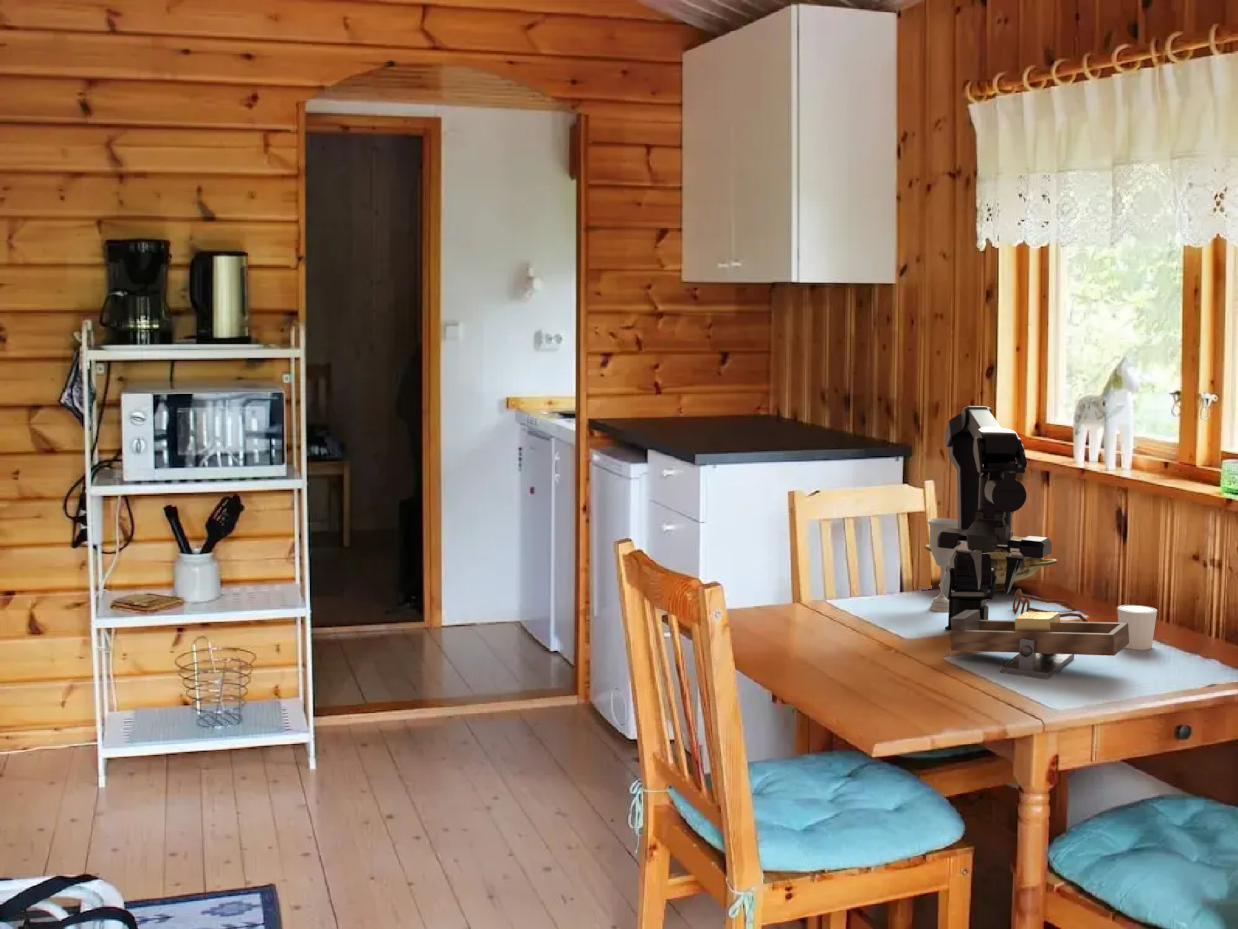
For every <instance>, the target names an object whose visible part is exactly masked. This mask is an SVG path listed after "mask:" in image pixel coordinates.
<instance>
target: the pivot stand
mask: <svg viewBox="0 0 1238 929" xmlns="http://www.w3.org/2000/svg"><path fill="white" fill-rule="evenodd" d="M1074 659H1075V654H1044V653H1036V640H1033V639H1026V638H1022V639H1020V648H1019V653H1017V654H1016V655H1015V656H1013V657H1012V658H1010V659H1009V660H1007V661H1006V662H1004V663H1003V664H1002V665H1000V668H999V670H1000V673H1003V674H1008V675H1009V674H1010V675H1016V676H1018V675H1019V676H1022V675H1024V677H1029V678H1031V677H1032V678H1038V679H1043V680H1049V679H1050V678H1051V677H1052V676H1053V675H1055V674H1056V673H1057V672H1058V671H1060V670H1061V669H1062V668H1064V667H1065V666H1066V665H1067V664H1069V663H1070V662H1072V660H1074Z"/></svg>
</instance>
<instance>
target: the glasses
mask: <svg viewBox="0 0 1238 929" xmlns="http://www.w3.org/2000/svg"><path fill="white" fill-rule="evenodd" d="M1017 598H1018V601H1017ZM1030 600H1032V601H1038V602H1042V603H1045V604H1049V603H1050V604H1051V603H1060V604H1065V605H1066V606H1067V607H1068V608H1070V609H1071V610H1073V611H1074V610H1078V608H1076V607H1075V606H1074V605H1072V603H1070V602H1068V601H1067V600H1065V599H1059V598H1058V599H1047V598H1041V597H1037V596H1032V595H1026V594H1023V592H1022V589H1020V588H1017V589H1016V591H1015V594H1014V597H1013V603H1012V612H1014V613H1017V612H1018V611H1019V609H1020V605H1021V604H1022V605H1021V610H1020V615H1021V614H1023V613H1024V612H1050V611H1048V610H1044V609H1041V608H1040V609H1039V608H1034V607H1030V606H1031V605H1030V603H1031V602H1030ZM1016 602H1017V604H1016ZM1025 606H1026V610H1025ZM1065 617H1076V618H1079V619H1080V620H1081V622H1089V621H1088V619H1086V618H1085V617H1084V616H1083V615H1082V614H1081V613H1074V612H1066V613H1060V618H1065Z"/></svg>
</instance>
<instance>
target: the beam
mask: <svg viewBox="0 0 1238 929" xmlns="http://www.w3.org/2000/svg"><path fill="white" fill-rule="evenodd" d="M1060 625H1061V632H1028V631H1016V630H1015V619H1014V620H1009V619H1008V620H1005V619H1003V620H1002V619H998V620H997V619H988V620H980V610H965V611H963V612H961V613H959V614H958V615H956V616H954V617H952V618H951V630H950V631H949V630H948V631H949V642H950V651H952V652H953V651H954V652H955V651H956V652H981V653H982V652H983V653H987V652H988V653H1014V654H1016V653H1017V654H1019V648H1020V639H1022V638H1026V639H1033V640H1036V653H1044V654H1074V655H1076V656H1077V655H1081V656H1083V655H1084V656H1107V657H1109V656H1112V657H1113V656H1114V657H1115V656H1116V655H1117V654H1119V653H1120V651H1122V650H1123V649H1125V648H1124V647H1125V646H1126V645H1128V644H1129V630H1128V623H1118V621H1117V622H1109V621H1108V622H1106V621H1104V622H1103V621H1100V622H1099V621H1088V622H1083V621H1065V620H1064V621H1063V620H1062V621H1061V620H1060Z"/></svg>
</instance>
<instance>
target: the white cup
mask: <svg viewBox="0 0 1238 929" xmlns="http://www.w3.org/2000/svg"><path fill="white" fill-rule="evenodd" d="M1157 615H1158V609H1157V608H1154V607H1151V606H1147V605H1140V604H1122V605H1118V606H1117V618H1118V619H1117V620H1118V621H1117V622H1118V623H1128V630H1129V644H1128V645H1126V646H1125V647H1124V648H1123V649H1127V650H1128V649H1130V650H1137V651H1142V650H1143V651H1147V650H1151V649H1152V647H1153V642H1154V634H1155V626H1156V621H1157Z"/></svg>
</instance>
